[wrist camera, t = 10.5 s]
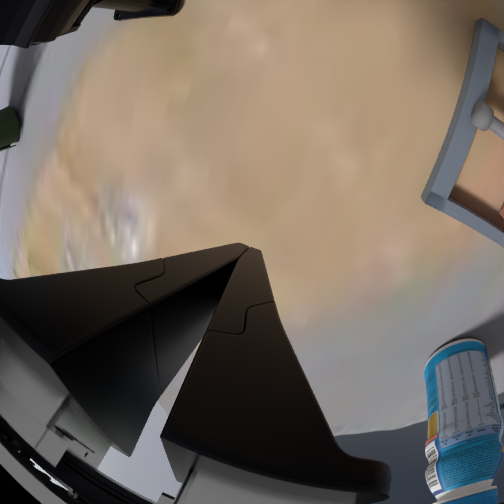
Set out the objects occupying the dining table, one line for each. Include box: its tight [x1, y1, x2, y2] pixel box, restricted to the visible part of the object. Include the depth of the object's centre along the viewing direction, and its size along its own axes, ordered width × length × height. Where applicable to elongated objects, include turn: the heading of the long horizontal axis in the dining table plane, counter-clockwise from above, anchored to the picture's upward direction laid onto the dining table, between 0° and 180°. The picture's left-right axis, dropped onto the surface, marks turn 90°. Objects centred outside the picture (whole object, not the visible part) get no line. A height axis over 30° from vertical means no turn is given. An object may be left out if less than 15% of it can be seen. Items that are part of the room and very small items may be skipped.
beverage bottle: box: [424, 339, 504, 504], centre depth 16 cm, size 8×8×20 cm
